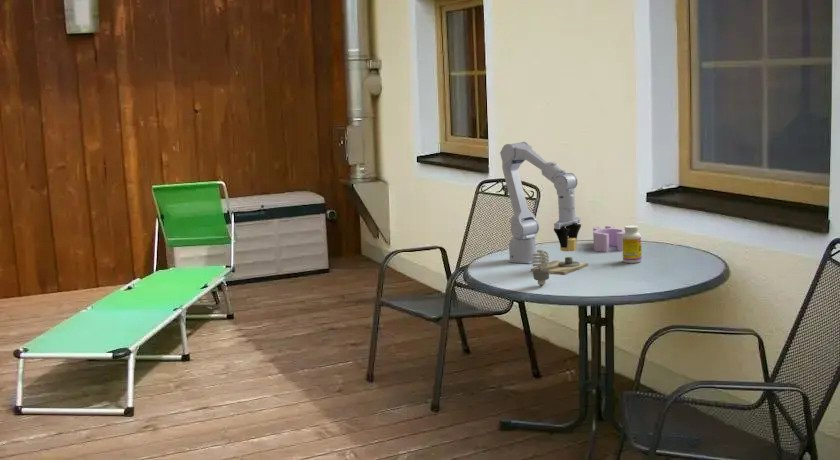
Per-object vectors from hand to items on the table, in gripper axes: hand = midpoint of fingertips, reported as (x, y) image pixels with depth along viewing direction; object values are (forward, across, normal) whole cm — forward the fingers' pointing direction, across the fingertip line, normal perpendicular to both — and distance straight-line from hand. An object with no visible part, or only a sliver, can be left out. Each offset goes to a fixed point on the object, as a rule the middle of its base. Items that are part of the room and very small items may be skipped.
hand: (568, 245), depth 342 cm
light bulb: (+8, -29, -7) cm, 31 cm away
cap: (+1, 0, 0) cm, 1 cm away
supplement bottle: (+8, +17, -16) cm, 25 cm away
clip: (+8, +38, +5) cm, 40 cm away
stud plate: (+8, -3, +2) cm, 9 cm away
